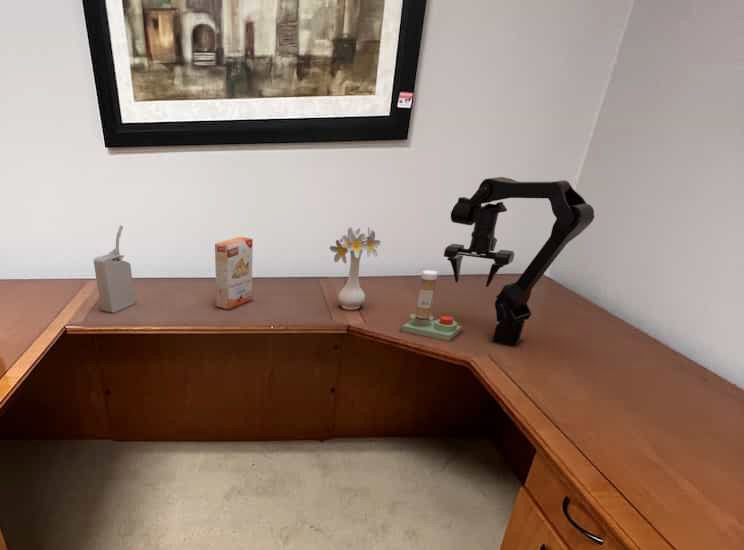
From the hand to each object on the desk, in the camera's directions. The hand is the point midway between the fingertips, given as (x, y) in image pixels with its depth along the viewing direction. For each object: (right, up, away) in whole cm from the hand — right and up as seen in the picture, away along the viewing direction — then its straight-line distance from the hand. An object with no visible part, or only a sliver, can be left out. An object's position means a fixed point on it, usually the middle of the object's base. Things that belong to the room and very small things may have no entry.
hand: (471, 284), depth 168 cm
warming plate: (-14, -9, +5) cm, 17 cm away
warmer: (-11, -13, +5) cm, 17 cm away
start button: (-8, -12, +1) cm, 14 cm away
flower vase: (-32, +1, +24) cm, 40 cm away
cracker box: (-72, +4, +30) cm, 78 cm away
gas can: (-113, +3, +29) cm, 117 cm away
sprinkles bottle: (-14, -9, +4) cm, 17 cm away
